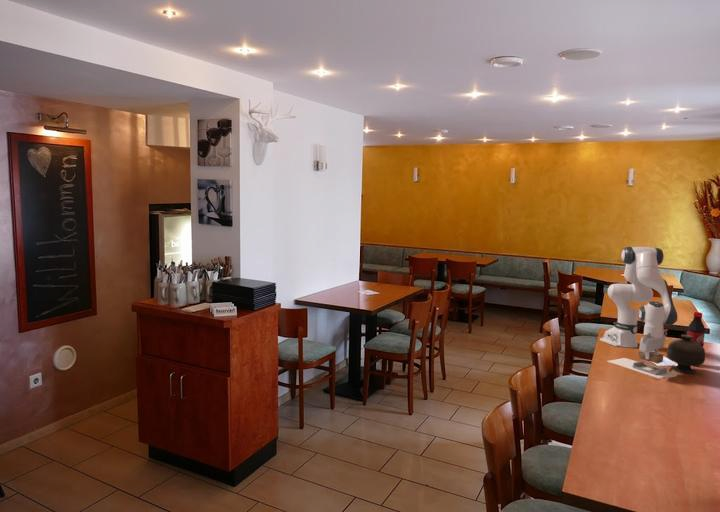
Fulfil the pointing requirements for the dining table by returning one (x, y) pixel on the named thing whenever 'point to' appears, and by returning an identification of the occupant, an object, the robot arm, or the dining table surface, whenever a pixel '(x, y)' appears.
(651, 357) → the frame
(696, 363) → the pot
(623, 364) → the wall panel
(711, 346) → the dining table surface
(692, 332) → the cola bottle
